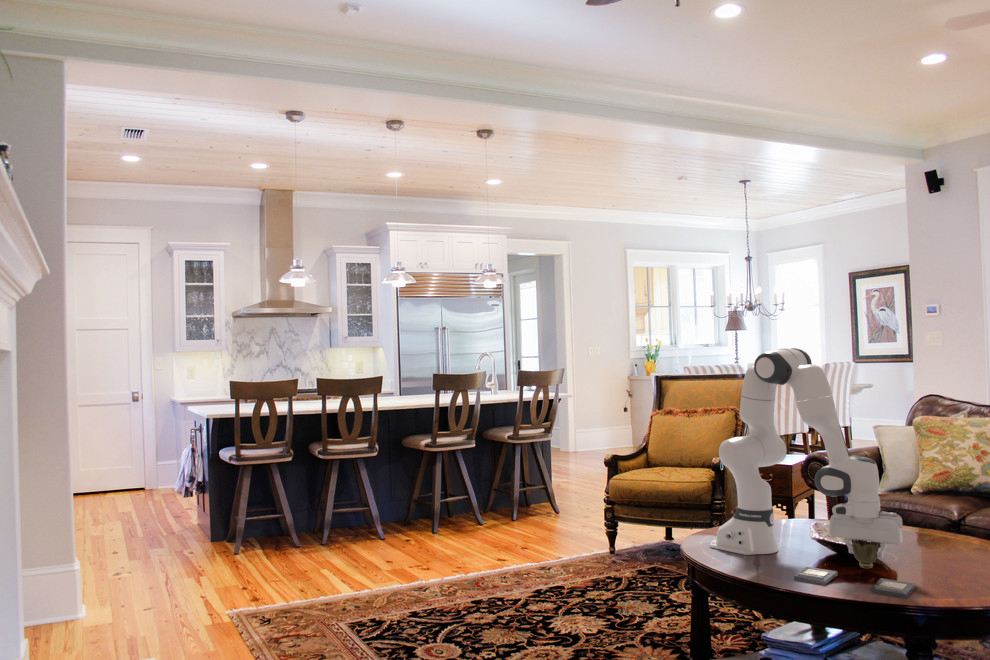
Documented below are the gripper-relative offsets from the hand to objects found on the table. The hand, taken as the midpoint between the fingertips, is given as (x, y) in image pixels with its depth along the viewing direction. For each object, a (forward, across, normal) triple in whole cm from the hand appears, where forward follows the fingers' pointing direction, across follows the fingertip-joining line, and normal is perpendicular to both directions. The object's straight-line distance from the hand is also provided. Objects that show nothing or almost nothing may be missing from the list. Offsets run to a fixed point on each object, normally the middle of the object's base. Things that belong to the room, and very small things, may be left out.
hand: (865, 555), depth 231 cm
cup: (+4, 0, 0) cm, 4 cm away
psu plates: (+5, 0, +15) cm, 16 cm away
